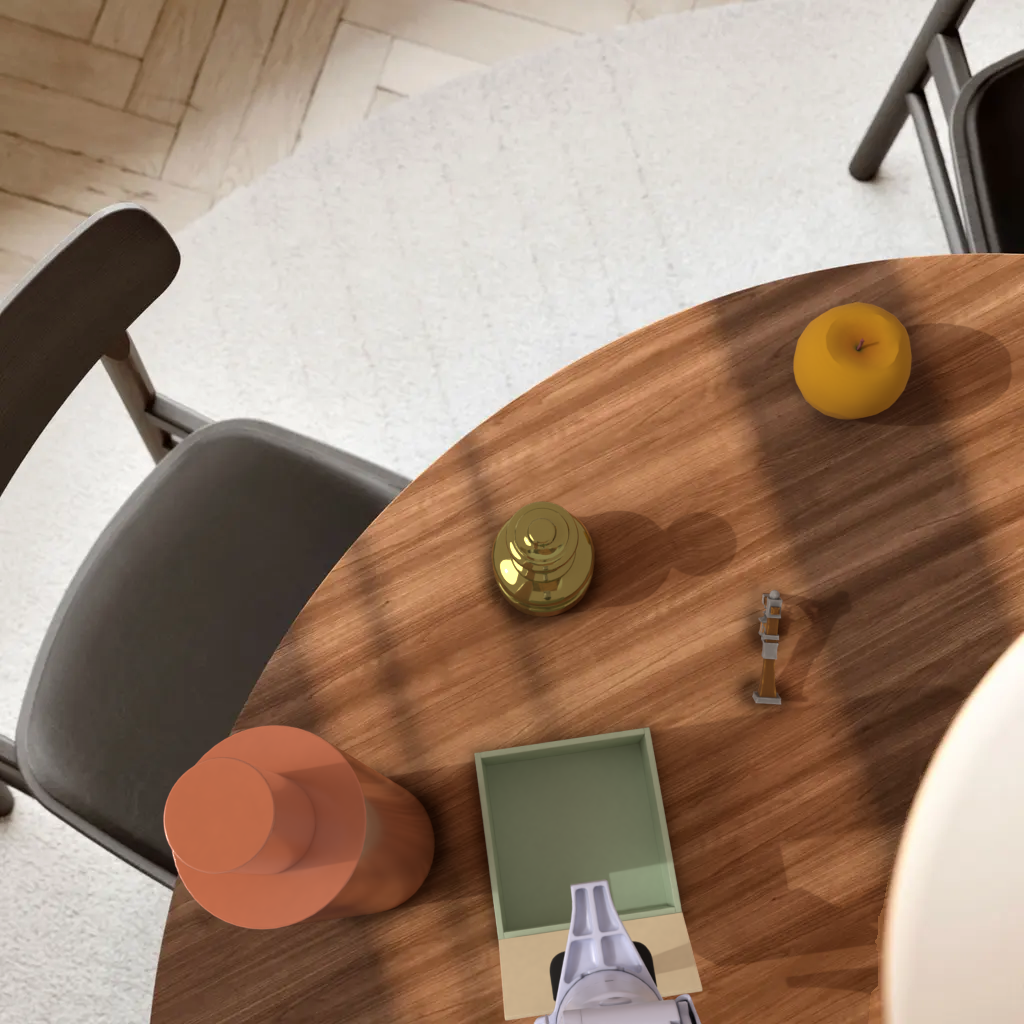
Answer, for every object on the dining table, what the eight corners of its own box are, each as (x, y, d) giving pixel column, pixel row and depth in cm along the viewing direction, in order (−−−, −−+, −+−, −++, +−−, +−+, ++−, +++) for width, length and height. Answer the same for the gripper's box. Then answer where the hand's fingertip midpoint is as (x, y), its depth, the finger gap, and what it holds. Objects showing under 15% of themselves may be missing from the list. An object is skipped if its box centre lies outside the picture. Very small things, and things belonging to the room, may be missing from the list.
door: (682, 912, 73) (682, 915, 73) (498, 939, 73) (499, 942, 73) (702, 987, 68) (702, 991, 68) (504, 1017, 68) (505, 1020, 68)
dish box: (673, 910, 79) (682, 912, 74) (502, 936, 79) (498, 940, 74) (643, 737, 83) (649, 727, 77) (480, 761, 83) (474, 753, 77)
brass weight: (608, 545, 87) (614, 504, 78) (568, 634, 85) (569, 602, 76) (519, 507, 88) (514, 462, 79) (478, 594, 87) (468, 558, 77)
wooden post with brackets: (779, 581, 85) (790, 592, 80) (771, 688, 86) (782, 705, 81) (754, 580, 85) (763, 591, 81) (747, 687, 86) (756, 703, 81)
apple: (825, 318, 92) (852, 262, 84) (915, 381, 90) (951, 329, 82) (760, 394, 91) (780, 344, 82) (850, 460, 89) (880, 415, 80)
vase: (403, 934, 79) (272, 976, 43) (285, 882, 81) (63, 881, 45) (454, 808, 82) (370, 748, 46) (339, 760, 83) (169, 665, 47)
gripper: (511, 897, 57) (519, 887, 70) (556, 1226, 53) (556, 1150, 66) (652, 876, 57) (634, 870, 70) (707, 1203, 53) (677, 1132, 66)
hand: (604, 1005), depth 68 cm, fingers closed
